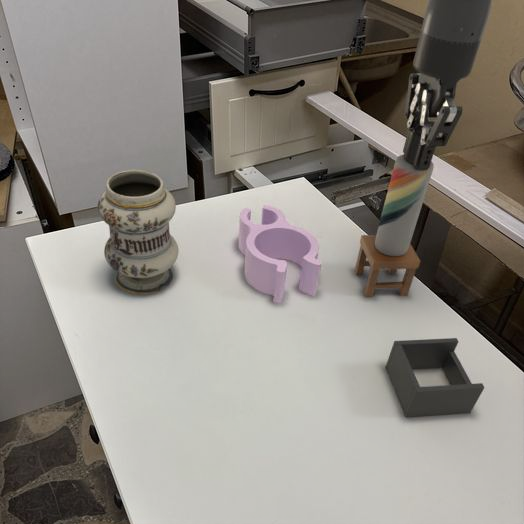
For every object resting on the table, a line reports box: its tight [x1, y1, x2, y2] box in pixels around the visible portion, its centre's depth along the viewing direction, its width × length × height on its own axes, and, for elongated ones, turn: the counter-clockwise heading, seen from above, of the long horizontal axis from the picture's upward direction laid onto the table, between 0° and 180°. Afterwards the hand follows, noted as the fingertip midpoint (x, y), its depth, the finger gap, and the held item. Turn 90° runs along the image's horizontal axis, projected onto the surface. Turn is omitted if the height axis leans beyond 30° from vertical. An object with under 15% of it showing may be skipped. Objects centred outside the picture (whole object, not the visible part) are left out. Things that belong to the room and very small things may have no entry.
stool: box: [354, 234, 421, 298], centre depth 91 cm, size 8×8×8 cm
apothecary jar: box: [97, 169, 179, 295], centre depth 85 cm, size 12×12×18 cm
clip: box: [238, 204, 323, 304], centre depth 93 cm, size 20×12×7 cm, turn 22°
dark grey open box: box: [385, 337, 485, 419], centre depth 75 cm, size 10×10×6 cm
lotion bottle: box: [375, 125, 435, 256], centre depth 82 cm, size 6×6×20 cm
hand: (415, 160), depth 78 cm, fingers open, 4 cm apart
